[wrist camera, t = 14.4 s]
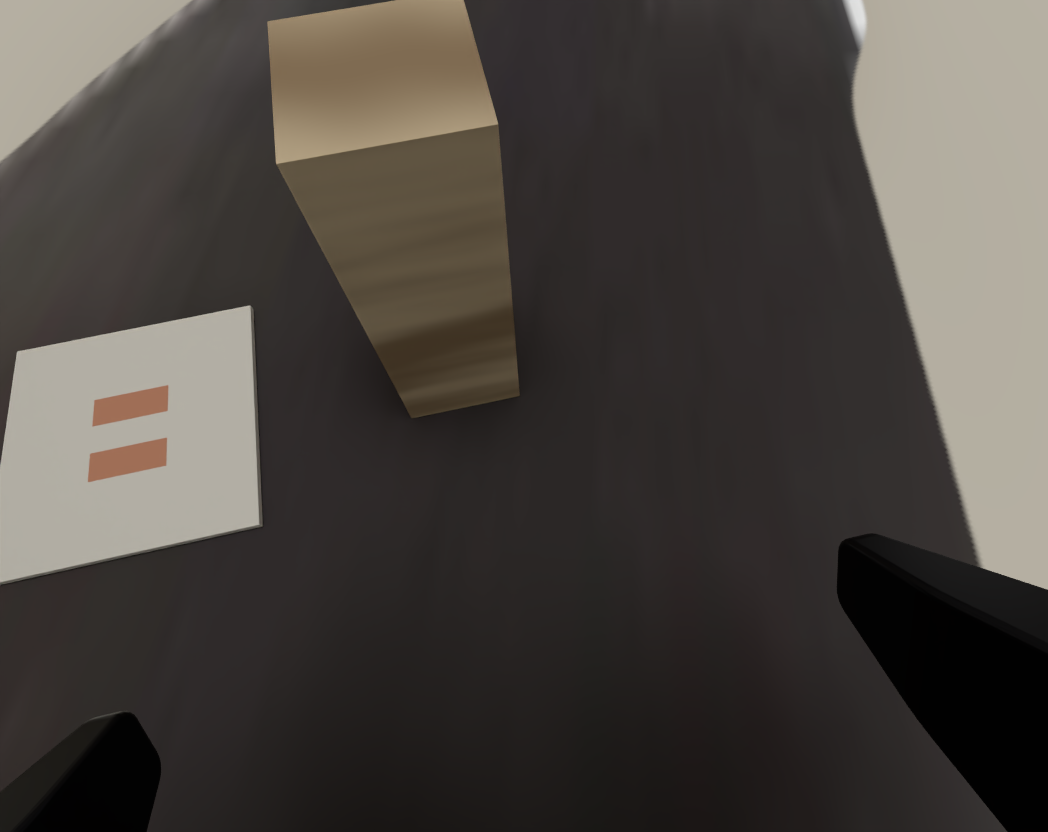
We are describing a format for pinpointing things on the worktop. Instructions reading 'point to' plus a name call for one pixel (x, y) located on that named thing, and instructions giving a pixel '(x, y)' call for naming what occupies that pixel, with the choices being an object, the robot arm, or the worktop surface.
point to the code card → (130, 444)
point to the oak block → (403, 189)
